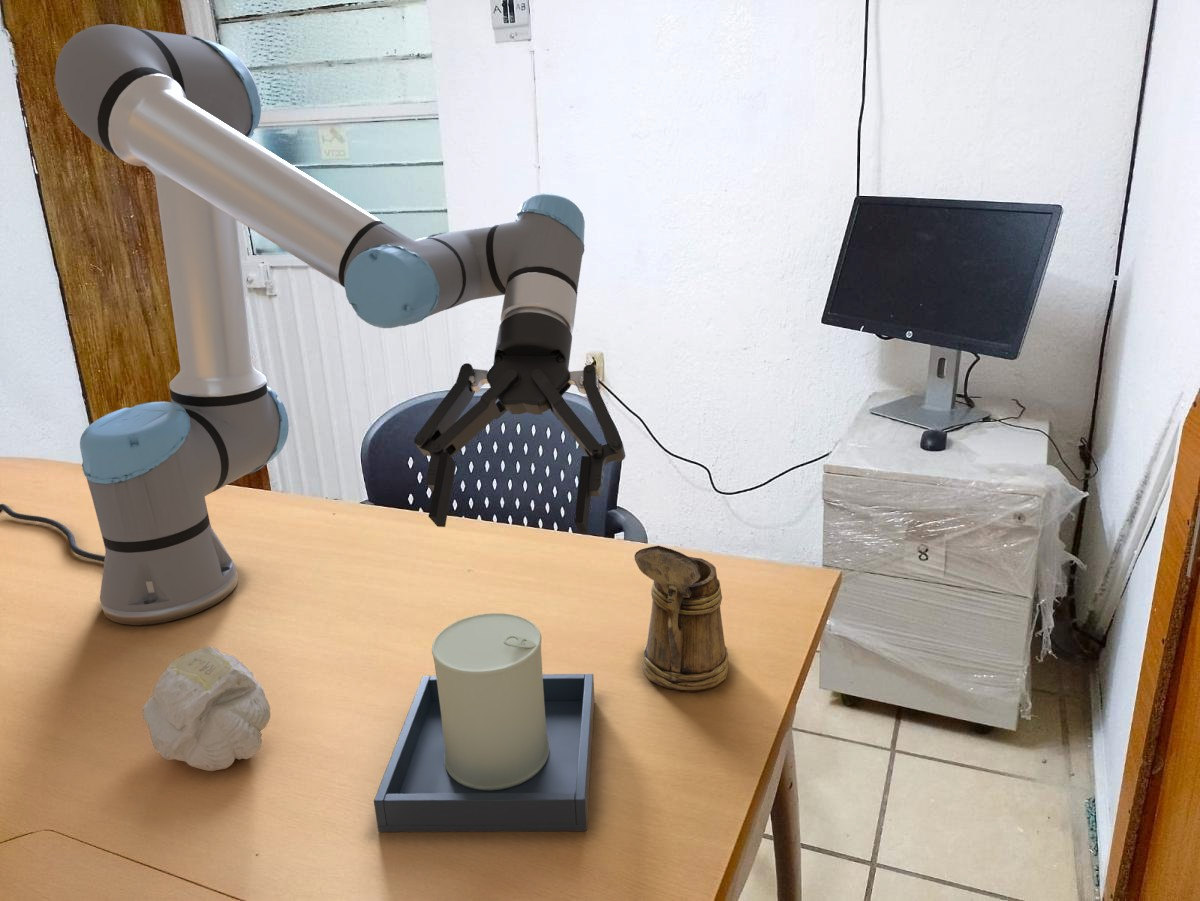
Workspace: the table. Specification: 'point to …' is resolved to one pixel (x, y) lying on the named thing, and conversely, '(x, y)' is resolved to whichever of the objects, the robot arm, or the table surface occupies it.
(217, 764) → the fossil replica
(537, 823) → the tray
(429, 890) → the table surface
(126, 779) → the table surface
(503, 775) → the can
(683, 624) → the wooden mug
